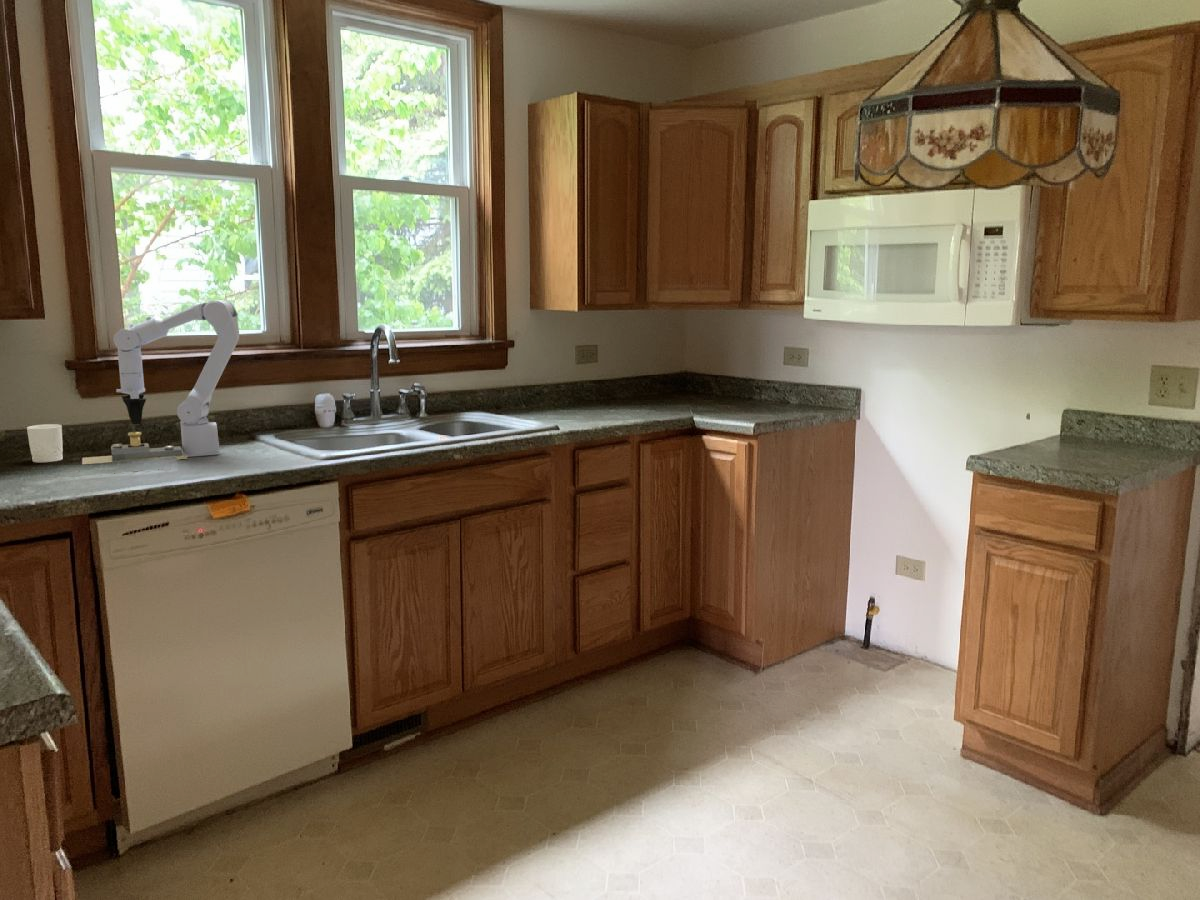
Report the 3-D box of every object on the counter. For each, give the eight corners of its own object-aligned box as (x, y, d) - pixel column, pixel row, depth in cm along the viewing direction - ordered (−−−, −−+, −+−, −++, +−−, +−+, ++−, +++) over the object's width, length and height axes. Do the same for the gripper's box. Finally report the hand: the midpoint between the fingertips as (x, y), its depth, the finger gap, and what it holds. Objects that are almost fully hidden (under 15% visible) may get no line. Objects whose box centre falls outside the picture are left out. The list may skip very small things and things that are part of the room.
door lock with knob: (184, 453, 255) (183, 437, 254) (187, 459, 247) (186, 442, 246) (82, 461, 243) (81, 444, 243) (82, 468, 235) (80, 450, 234)
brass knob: (143, 455, 247) (140, 431, 246) (143, 457, 244) (141, 433, 243) (129, 456, 246) (127, 432, 244) (130, 458, 243) (128, 433, 242)
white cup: (27, 463, 241) (23, 426, 239) (60, 459, 246) (56, 423, 244) (35, 467, 235) (31, 429, 233) (69, 463, 240) (65, 426, 239)
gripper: (113, 371, 252) (118, 419, 254) (115, 376, 240) (120, 426, 242) (142, 370, 255) (146, 417, 258) (145, 374, 243) (149, 424, 245)
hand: (135, 422), depth 250 cm, fingers open, 7 cm apart
